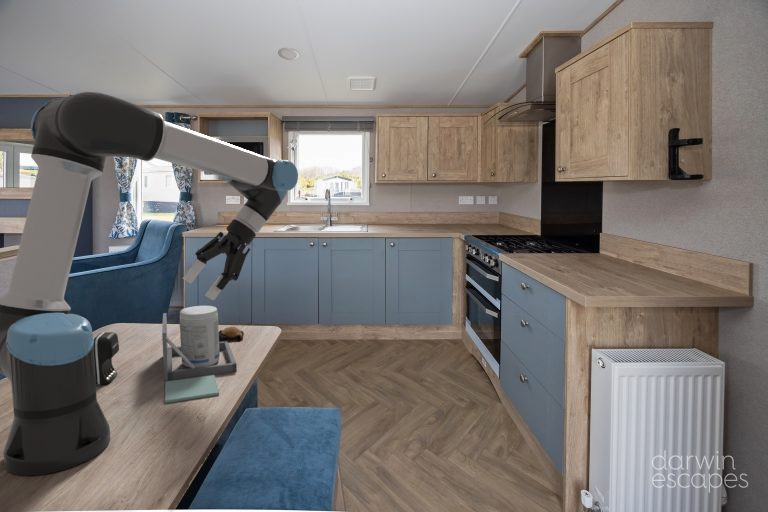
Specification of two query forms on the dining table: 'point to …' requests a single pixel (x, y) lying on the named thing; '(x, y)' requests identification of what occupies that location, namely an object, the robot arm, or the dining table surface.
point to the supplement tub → (199, 335)
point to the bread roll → (231, 335)
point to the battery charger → (105, 356)
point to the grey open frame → (192, 371)
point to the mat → (190, 388)
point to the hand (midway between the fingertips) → (197, 289)
